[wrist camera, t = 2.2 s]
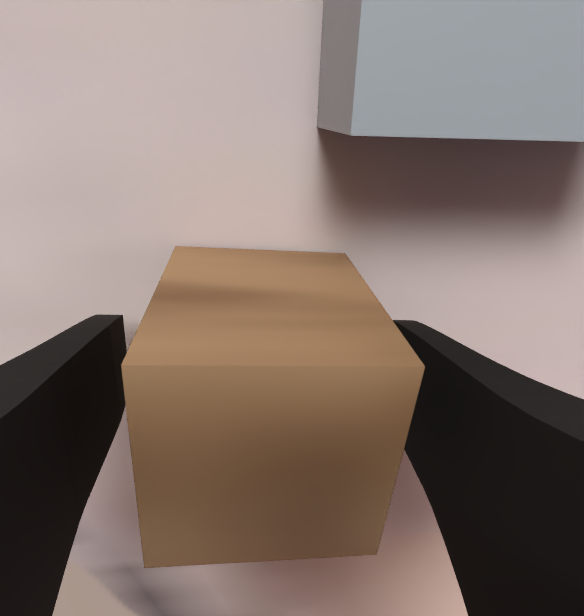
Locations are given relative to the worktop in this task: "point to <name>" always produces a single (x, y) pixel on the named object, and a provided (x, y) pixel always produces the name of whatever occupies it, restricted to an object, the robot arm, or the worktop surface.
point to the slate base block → (453, 69)
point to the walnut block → (265, 409)
